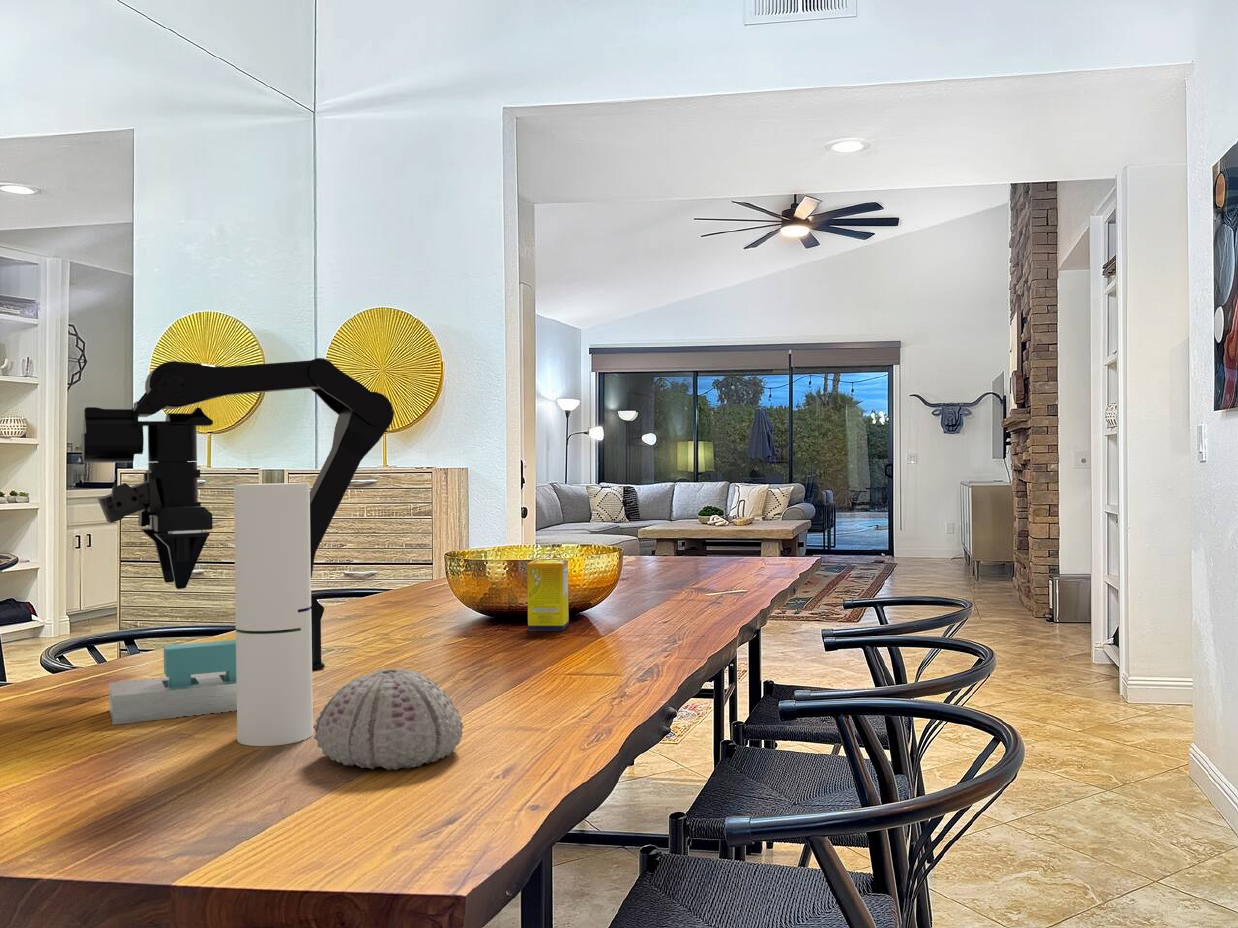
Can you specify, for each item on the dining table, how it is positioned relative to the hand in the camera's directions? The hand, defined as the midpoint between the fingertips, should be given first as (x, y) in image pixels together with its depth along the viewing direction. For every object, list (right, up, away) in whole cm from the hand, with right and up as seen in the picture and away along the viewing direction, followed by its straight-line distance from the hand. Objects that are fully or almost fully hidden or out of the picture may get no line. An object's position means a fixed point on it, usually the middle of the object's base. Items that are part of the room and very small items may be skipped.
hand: (174, 585), depth 136 cm
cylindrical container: (+22, -12, -30) cm, 39 cm away
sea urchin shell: (+35, -12, -37) cm, 53 cm away
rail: (+10, -12, -16) cm, 22 cm away
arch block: (+10, -12, -15) cm, 22 cm away
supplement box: (+45, -12, +40) cm, 61 cm away
